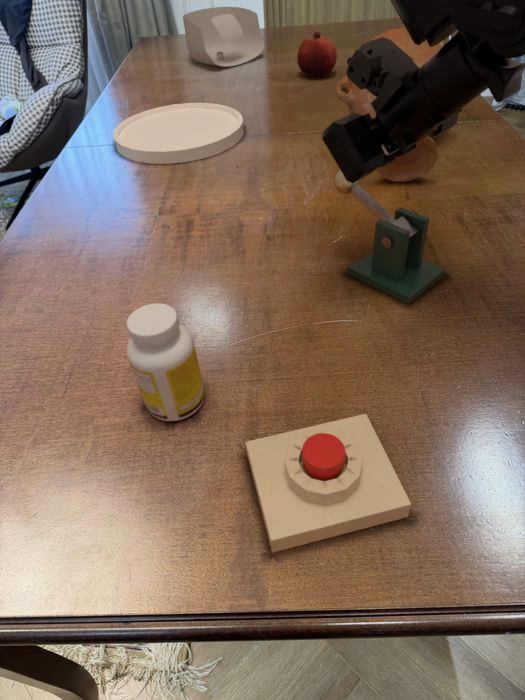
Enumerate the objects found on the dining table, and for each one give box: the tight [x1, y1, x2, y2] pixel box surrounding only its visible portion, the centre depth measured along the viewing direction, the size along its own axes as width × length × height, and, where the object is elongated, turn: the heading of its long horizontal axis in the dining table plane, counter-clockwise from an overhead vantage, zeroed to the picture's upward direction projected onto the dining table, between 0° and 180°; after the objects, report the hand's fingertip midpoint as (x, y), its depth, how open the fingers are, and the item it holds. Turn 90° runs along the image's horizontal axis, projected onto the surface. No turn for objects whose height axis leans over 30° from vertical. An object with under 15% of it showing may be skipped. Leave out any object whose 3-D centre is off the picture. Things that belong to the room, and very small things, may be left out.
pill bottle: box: [126, 302, 206, 422], centre depth 50 cm, size 6×6×12 cm
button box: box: [245, 413, 412, 553], centre depth 44 cm, size 10×12×4 cm
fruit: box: [296, 31, 338, 77], centre depth 131 cm, size 11×10×10 cm
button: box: [302, 433, 345, 480], centre depth 43 cm, size 4×4×2 cm
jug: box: [335, 27, 443, 183], centre depth 90 cm, size 20×19×30 cm
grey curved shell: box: [182, 6, 265, 67], centre depth 149 cm, size 20×19×12 cm
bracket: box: [347, 207, 447, 305], centre depth 65 cm, size 10×8×8 cm
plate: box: [112, 102, 245, 165], centre depth 109 cm, size 28×28×2 cm
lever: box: [333, 169, 418, 244], centre depth 65 cm, size 13×3×3 cm, turn 43°
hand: (350, 164), depth 64 cm, fingers closed
